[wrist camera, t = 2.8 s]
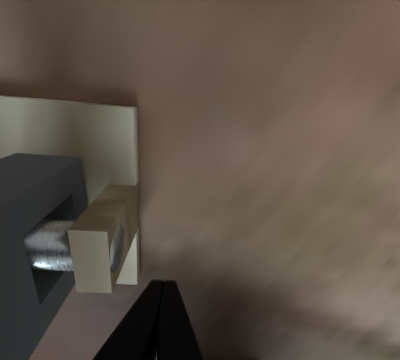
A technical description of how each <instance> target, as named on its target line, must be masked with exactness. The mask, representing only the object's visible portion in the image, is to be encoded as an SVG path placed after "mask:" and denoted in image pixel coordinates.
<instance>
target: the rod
mask: <svg viewBox="0 0 400 360" xmlns="http://www.w3.org/2000/svg"><path fill="white" fill-rule="evenodd" d="M74 222H75V221H59V220H41V221H40V222H39V223H37V224H36V225H35V226H34V227H33V228H32V229H30V230H29V231H28V232H27V233H26V234H25V235H23V238H24V242H25V246H26V250H27V254H28V258H29V263H30V267H31V269H35V270H57V271H74V270H73V263H72V257H71V250H70V244H69V237H68V231H67V230H68V228H69V227H70V226H71V225H72V224H73V223H74ZM122 229H123V225H122V224H119V225H118V227H117V228H116V230H115V233H114V236H113V239H112V243H111V249H110V269H111V272H112V273H115V272H116V271H117V269H118V267H119V264H120V262H121V258H122V254H123V248H124V232H123V238H122V239H121V237H122V236H121V235H122V234H121V233H122ZM121 240H122V244H120V243H121ZM120 246H121V247H120ZM120 248H121V251H120V250H119V249H120ZM119 256H120V257H119Z"/></svg>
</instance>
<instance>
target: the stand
mask: <svg viewBox="0 0 400 360" xmlns="http://www.w3.org/2000/svg"><path fill="white" fill-rule="evenodd" d="M15 153H25V154H38V155H52V156H65V157H79V158H81V165H82V174H83V183H84V192H85V201H86V210H85V211H84V212H83V213H82V214H81V215H80V216H79V217H78V219H77V220H76V221H75V222H74V223H73V224H72V225H71V226H70V227H69V228H68V230H67V231H68V237H69V244H70V250H71V257H72V263H73V270H74V276H75V283H76V289H77V292H90V293H112V292H113V289H114V287H115V284H133V285H137V283H138V280H139V277H140V251H139V183H138V116H137V107H132V106H120V105H109V104H98V103H86V102H75V101H64V100H52V99H41V98H30V97H18V96H7V95H0V159H1V158H4V157H6V156H9V155H12V154H15ZM119 224H122V225H123V229H122V233H121V234H122V235H121V236H122V237H121V239H122V238H123V232H124V248H123V254H122V258H121V262H120V264H119V267H118V269H117V271H116V272H115V273H112V272H111V269H110V249H111V243H112V239H113V236H114V233H115V230H116V228H117V227H118V225H119ZM120 244H122V240H121V243H120ZM120 247H121V246H120ZM119 250H120V251H121V248H120V249H119ZM119 257H120V256H119Z"/></svg>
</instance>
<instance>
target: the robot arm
mask: <svg viewBox="0 0 400 360" xmlns="http://www.w3.org/2000/svg"><path fill="white" fill-rule="evenodd" d="M156 354H157V360H204V358H203V355H202V352H201V349H200V347H199V344H198V341H197V338H196V335H195V333H194V330H193V327H192V324H191V321H190V318H189V316H188V313H187V310H186V307H185V304H184V302H183V299H182V296H181V293H180V290H179V288H178V285H177V282H176V281H175V280H165V281H163V280H155V279H153V280H151V282H150V283H149V284H148V286H147V287H146V288H145V290H144V291H143V292H142V294H141V295H140V296H139V298H138V299H137V300H136V302H135V303H134V304H133V306H132V307H131V308H130V310H129V311H128V312H127V314H126V315H125V316H124V318H123V319H122V320H121V322H120V323H119V324H118V326H117V327H116V328H115V330H114V331H113V332H112V334H111V335H110V337H109V338H108V339H107V341H106V342H105V343H104V345H103V346H102V347H101V349H100V350H99V351H98V353H97V354H96V355H95V357H94V358H93V359H92V360H155V359H156Z"/></svg>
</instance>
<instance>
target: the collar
mask: <svg viewBox="0 0 400 360" xmlns="http://www.w3.org/2000/svg"><path fill="white" fill-rule="evenodd" d="M85 210H86V201H85V192H84V183H83V174H82V165H81V158H79V157H65V156H52V155H38V154H25V153H15V154H12V155H9V156H6V157H4V158H1V159H0V360H28V359H29V358H30V356H31V355H32V353H33V351H34V350H35V348H36V346H37V345H38V343H39V341H40V340H41V338H42V337H43V335H44V333H45V332H46V330H47V328H48V327H49V325H50V324H51V322H52V320H53V319H54V317H55V315H56V314H57V312H58V310H59V309H60V307H61V306H62V304H63V302H64V301H65V299H66V297H67V296H68V294H69V292H70V291H71V289H72V288H73V286H74V284H75V276H74V271H57V270H35V269H31V267H30V263H29V258H28V254H27V250H26V246H25V242H24V238H23V235H25V234H26V233H27V232H28V231H29V230H30V229H32V228H33V227H34V226H35V225H36V224H37V223H39V222H40V221H41V220H59V221H76V220H77V219H78V217H79V216H80V215H81V214H82V213H83V212H84V211H85Z"/></svg>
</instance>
